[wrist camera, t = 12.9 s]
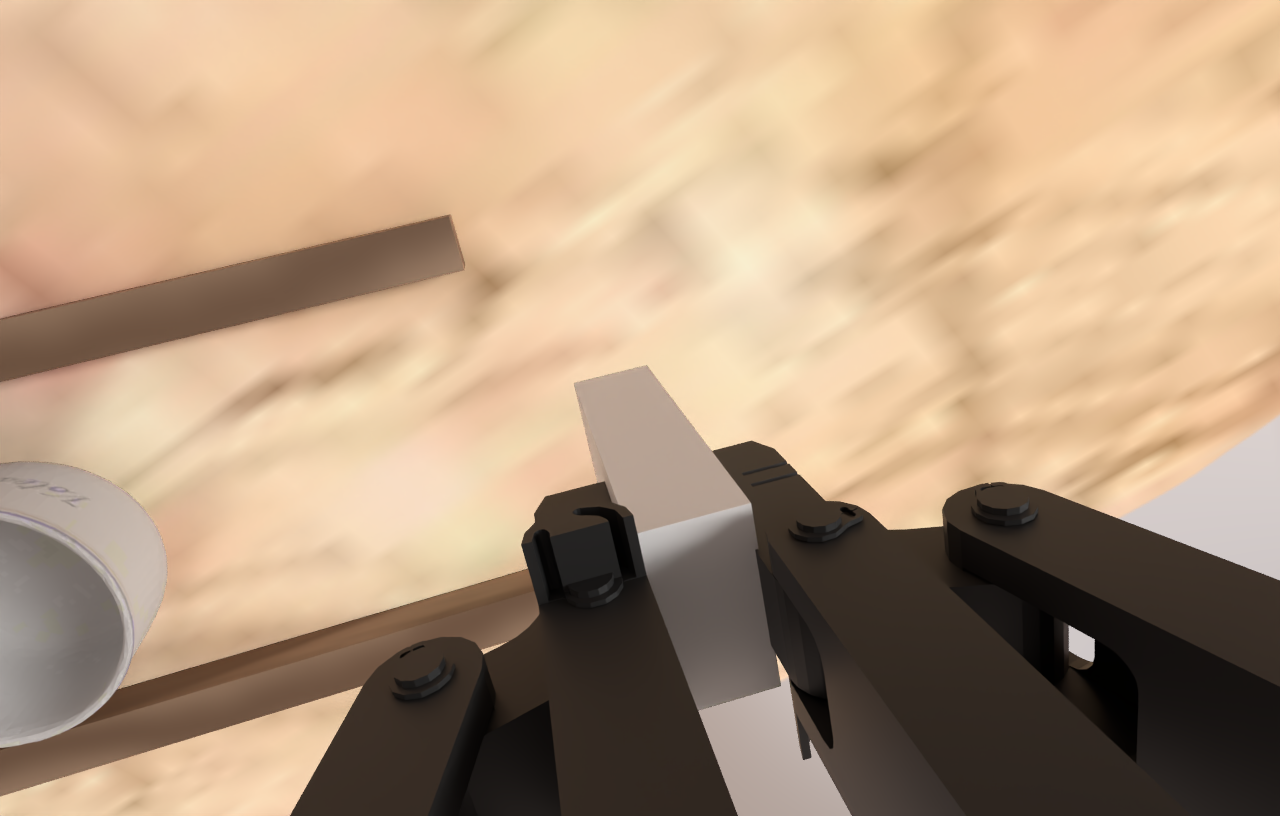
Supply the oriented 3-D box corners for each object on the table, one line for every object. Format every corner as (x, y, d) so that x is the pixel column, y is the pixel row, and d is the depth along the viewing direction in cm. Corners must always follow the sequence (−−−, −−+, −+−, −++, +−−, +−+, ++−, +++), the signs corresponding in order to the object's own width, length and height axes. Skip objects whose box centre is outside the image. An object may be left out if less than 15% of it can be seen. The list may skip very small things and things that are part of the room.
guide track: (-321, 385, 32) (-460, 419, 27) (449, 208, 36) (444, 211, 31) (-58, 791, 39) (-133, 874, 34) (562, 604, 43) (572, 655, 38)
